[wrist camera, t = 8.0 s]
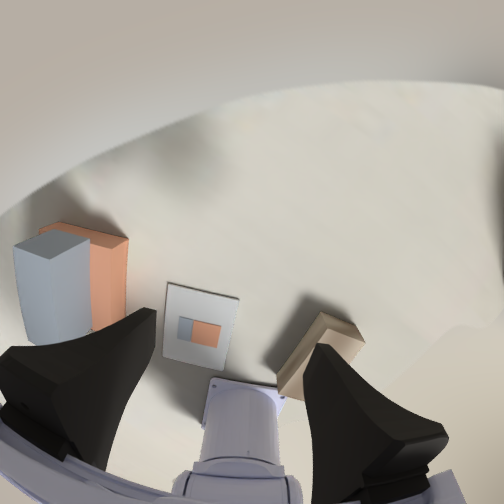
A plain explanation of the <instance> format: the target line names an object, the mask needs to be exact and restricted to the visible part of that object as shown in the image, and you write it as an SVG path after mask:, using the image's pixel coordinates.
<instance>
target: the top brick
mask: <svg viewBox="0 0 504 504" xmlns="http://www.w3.org/2000/svg"><path fill="white" fill-rule="evenodd" d="M13 255H14V265H15V274H16V282H17V289H18V295H19V301H20V306H21V311H22V316H23V321H24V325H25V329H26V333H27V337H28V341H30V342H32V343H33V344H35V345H37V346H39V345H48V344H55V343H60V342H64V341H68V340H73V339H76V338H80V337H83V336H85V334H86V333H87V332H88V331H89V330H90V329H91V328H92V327H93V325H92V313H91V296H90V238H86V237H82V236H78V235H75V234H71V233H67V232H63V231H60V230H56V229H52V230H50V231H47V232H45V233H42V234H40V235H38V236H35V237H33V238H30V239H28V240H26V241H23V242H21V243H19V244H17V245H14V246H13Z"/></svg>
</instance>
